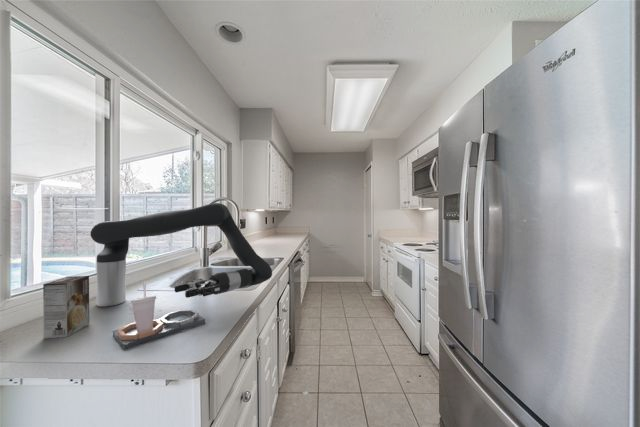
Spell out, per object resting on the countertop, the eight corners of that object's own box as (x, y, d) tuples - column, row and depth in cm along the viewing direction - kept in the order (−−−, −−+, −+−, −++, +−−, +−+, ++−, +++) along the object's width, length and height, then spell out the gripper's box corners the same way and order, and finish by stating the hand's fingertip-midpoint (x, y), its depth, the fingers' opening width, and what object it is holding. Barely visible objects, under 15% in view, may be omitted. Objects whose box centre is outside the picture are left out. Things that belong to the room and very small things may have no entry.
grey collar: (156, 320, 84) (156, 316, 84) (189, 310, 93) (189, 307, 93) (169, 329, 78) (169, 325, 78) (203, 318, 86) (203, 314, 86)
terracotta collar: (114, 331, 76) (114, 327, 76) (154, 320, 84) (154, 316, 84) (124, 343, 69) (124, 339, 69) (167, 329, 77) (167, 325, 77)
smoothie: (144, 334, 72) (141, 284, 74) (125, 335, 74) (123, 285, 75) (163, 326, 78) (160, 280, 80) (145, 327, 80) (143, 281, 81)
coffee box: (67, 325, 84) (67, 276, 84) (89, 324, 85) (90, 275, 85) (42, 339, 75) (42, 283, 75) (67, 337, 76) (67, 282, 76)
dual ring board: (112, 336, 76) (112, 331, 76) (189, 314, 93) (189, 310, 93) (124, 350, 69) (124, 344, 69) (205, 323, 86) (205, 318, 86)
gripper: (215, 269, 102) (171, 277, 90) (235, 274, 93) (189, 284, 81) (215, 288, 102) (171, 298, 90) (235, 295, 93) (189, 308, 81)
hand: (180, 291), depth 85 cm, fingers open, 8 cm apart
